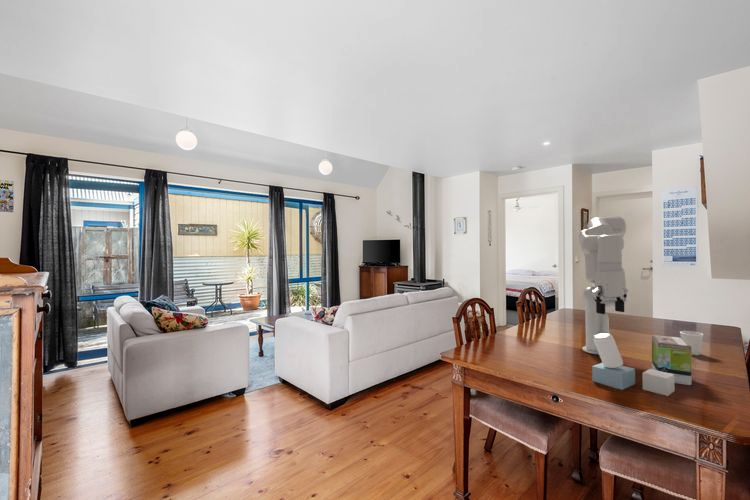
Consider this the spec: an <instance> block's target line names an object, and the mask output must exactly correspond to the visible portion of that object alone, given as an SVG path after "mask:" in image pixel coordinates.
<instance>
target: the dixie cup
mask: <svg viewBox="0 0 750 500" xmlns="http://www.w3.org/2000/svg"><path fill="white" fill-rule="evenodd" d="M679 333H680V338H683V339H684V340H685V341H686V342H687V343H689V344H690V345H691V350H692V355H691V356H700V355H701V351H702V345H703V344H702V343H703V338H704V334H703V333H702V332H699V331H698V332H697V331H690V330H681V331H679Z"/></svg>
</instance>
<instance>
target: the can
mask: <svg viewBox="0 0 750 500" xmlns="http://www.w3.org/2000/svg"><path fill="white" fill-rule="evenodd" d="M593 337H594V343H595V345H596V348H597V350H598V353H599V355H598V356H599V358H600V360H601V363H603V365H604V366H605V367H606V368H618V367H621V366H624V360H623V358H622V355H621V353H620V351H619V347H618V346H617V343H616V340H615V338H614V336H613V335H612V334H611V332H610V331H609V332H599V333H596V334H594V336H593Z"/></svg>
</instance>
